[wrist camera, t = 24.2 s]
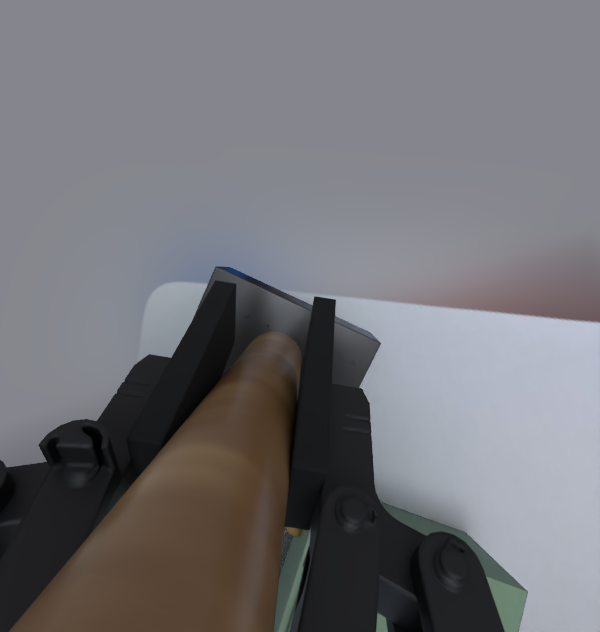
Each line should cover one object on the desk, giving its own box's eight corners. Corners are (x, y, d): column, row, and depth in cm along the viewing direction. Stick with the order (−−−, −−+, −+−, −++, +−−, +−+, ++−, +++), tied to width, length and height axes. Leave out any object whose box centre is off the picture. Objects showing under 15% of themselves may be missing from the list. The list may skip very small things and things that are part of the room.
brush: (188, 359, 22) (-1125, 1312, 2) (229, 266, 21) (-1236, 186, 1) (326, 423, 22) (478, 1888, 2) (371, 333, 21) (1269, 1249, 1)
